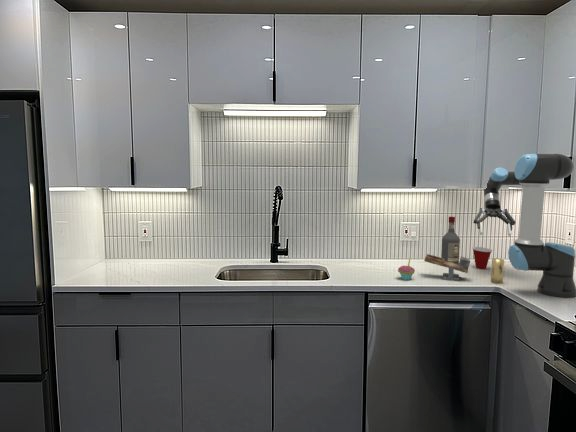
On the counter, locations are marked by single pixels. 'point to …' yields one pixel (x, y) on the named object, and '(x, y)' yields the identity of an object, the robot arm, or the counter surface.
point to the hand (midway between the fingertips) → (495, 234)
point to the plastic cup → (481, 256)
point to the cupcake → (406, 271)
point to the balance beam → (449, 263)
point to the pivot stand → (451, 274)
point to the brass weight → (497, 271)
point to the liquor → (451, 244)
